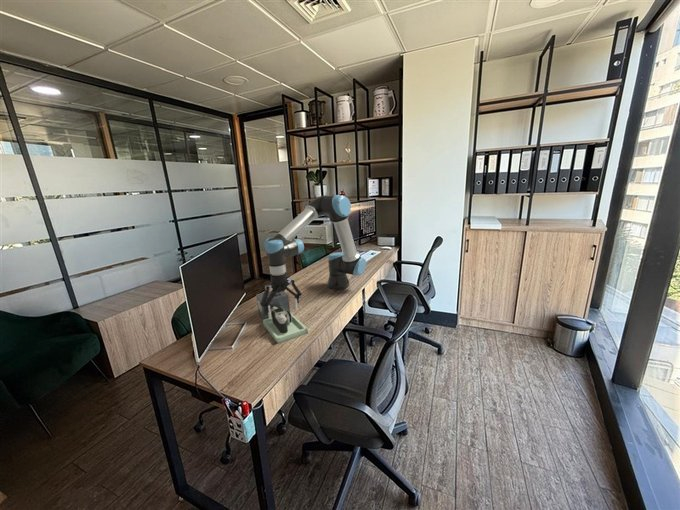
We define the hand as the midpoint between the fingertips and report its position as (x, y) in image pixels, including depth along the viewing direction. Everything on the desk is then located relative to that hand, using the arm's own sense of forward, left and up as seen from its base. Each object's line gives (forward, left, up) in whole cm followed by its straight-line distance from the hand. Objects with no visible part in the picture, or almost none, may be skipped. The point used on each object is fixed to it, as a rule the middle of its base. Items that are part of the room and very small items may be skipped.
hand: (283, 313), depth 136 cm
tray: (0, 0, -8) cm, 8 cm away
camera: (0, -1, -7) cm, 7 cm away
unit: (-1, -18, -8) cm, 20 cm away
